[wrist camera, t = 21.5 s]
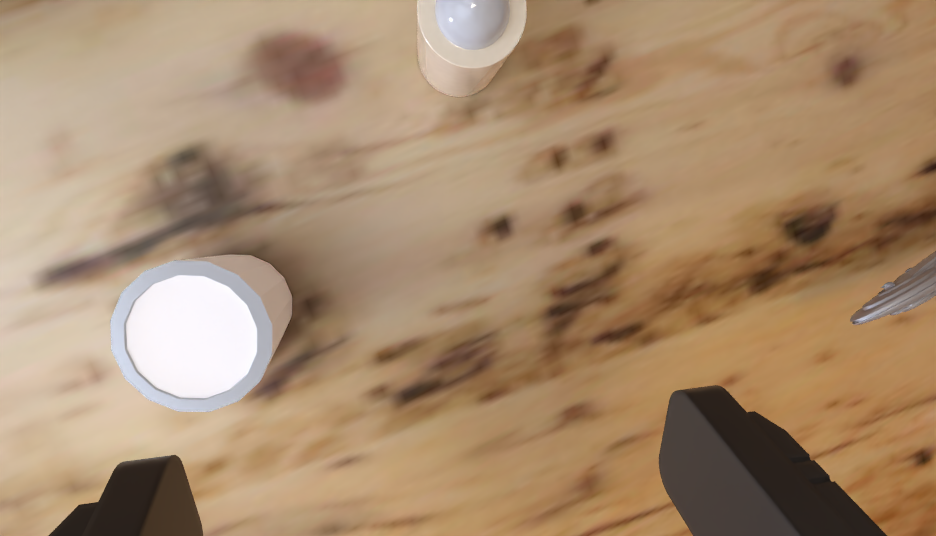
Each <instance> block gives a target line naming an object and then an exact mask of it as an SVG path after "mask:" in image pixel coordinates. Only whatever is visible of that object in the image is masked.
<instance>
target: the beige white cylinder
mask: <svg viewBox="0 0 936 536" xmlns="http://www.w3.org/2000/svg"><path fill="white" fill-rule="evenodd" d="M291 317H292V295H291V292H290V290H289V288H288V285H287V283H286V280H285V278H284V277H283V276H282V275H281V274H280V273H279V272H278V271H277V270H276V269H275V268H274V267H273V266H272V265H271V264H270V263H268V262H265V261H263V260H261V259H259V258H256V257H254V256H252V255H233V254H229V255H220V256H210V257H201V258H192V259H182V260H174V261H171V262H169V263H166V264H163V265H160V266H157V267H155V268H152V269H149V270H146V271H144V272H143V273H142V274H141V275H140V276H139V277H138V278H137V279H136V280H135V281H133V282H132V283H131V284H130V285H129V286H128V287H127V288H126V289H125V290H124V291H123V292H122V293H121V296H120V298H119V301H118V303H117V305H116V308H115V310H114V313H113V315H112V318H111V320H110V324H111V350H112V353H113V355H114V357H115V359H116V361H117V363H118V365H119V367H120V369H121V371H122V373H123V375H124V377H125V379H126V380H127V381H128V382H129V383H131V384H132V385H133V386H134V387H135V388H136V389H137V390H138V391H139V392H140V393H142V394H143V395H144V396H145V397H146V398H147V399H148V400H150V401H153V402H155V403H158V404H161V405H163V406H166V407H168V408H171V409H173V410H176V411H186V412H211V411H213V410H216V409H219V408H221V407H224V406H227V405H230V404H232V403H235V402H238V401H239V400H240V399H241V398H242V397H244V396H245V395H246V394H247V393H248V392H249V391H250V390H251V389H252V388H253V387H255V386H256V385H257V384H258V383H259V382H260V381H261V379H262V377H263V375H264V373H265V371H266V369H267V367H268V365H269V363H270V361H271V359H272V357H273V355H274V353H275V351H276V349H277V347H278V345H279V343H280V341H281V339H282V337H283V335H284V332H285V330H286V328H287V326H288V324H289V321H290V319H291Z"/></svg>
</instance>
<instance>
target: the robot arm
mask: <svg viewBox="0 0 936 536" xmlns="http://www.w3.org/2000/svg"><path fill="white" fill-rule="evenodd" d="M809 456H810V455H809V454H808V453H807V452H806V451H805V450H804V449H803V448H802V447H801V446H800V445H799V444H798V443H797V442H796V441H795V440H794V439H793V438H792V437H791V436H790V435H789V434H788V433H787V432H786V431H785V430H784V429H782V428H781V427H779V426H777V425H776V424H774V423H772V422H771V421H769V420H768V419H766V418H764V417H763V416H761V415H760V414H758V413H756V412H755V411H754V412H746V411H745V410H744V409H743V408H742V407H741V406H740V405H739V403H738V402H737V401H736V400H735V399H734V398H733V397H732V396H731V395H730V394H729V393H728V392H727V391H726V390H725V389H724V388H723V387H721V386H717V385H715V386H707V387H699V388H692V389H684V390H677V391H675V392H673V394H672V395H671V397H670V400H669V405H668V411H667V416H666V421H665V427H664V432H663V438H662V443H661V448H660V454H659V469H660V474H661V478H662V482H663V485H664V487H665V489H666V492H667V493H668V495H669V497H670V499H671V500H672V502H673V503H674V505H675V507H676V508H677V510H678V512H679V513H680V515H681V516H682V518H683V520H684V521H685V523H686V525H687V526H688V528H689V529H690V531H691V533H692V534H693V536H887V535H886V534H885V533H884V532H883V531H882V530H881V529H880V528H879V527H878V526H877V525H876V524H875V523H874V522H873V521H872V520H871V519H870V518H869V516H868V515H867V514H866V513H865V512H864V511H863V510H862V509H861V508H860V507H859V506H858V505H857V504H856V503H855V502H854V501H853V500H852V499H851V498H850V497H849V496H848V495H847V494H846V493H845V492H844V491H843V490H842V488H841V487H840V486H839V485H838V484H837V483H836V482H835V481H834V482H831V481H830V478H829V475H828V474H827V473H826V472H825V471H824V470H823V469H822V468H821V467H820V466H819V465H818V464H817V463H816V462H815V461H814V460H813V461H811V460H810V457H809ZM49 536H203V530H202V524H201V521H200V517H199V514H198V511H197V508H196V505H195V502H194V498H193V495H192V492H191V489H190V486H189V483H188V479H187V476H186V473H185V470H184V467H183V464H182V461H181V460H180V458H179V457H178V456H176V455H171V456H164V457H156V458H149V459H141V460H133V461H126V462H122V463H120V464H119V465H117V467H116V468H115V469H114V471H113V473H112V475H111V477H110V479H109V481H108V483H107V485H106V487H105V489H104V492H103V494H102V496H101V498H100V500H99V502H96V503H89V504H82V505H78V506H77V507H76V508H75V510H74V511H73V512H72V513H71V514H70V515H69V516H68V517H67V518H66V519H65V520H64V521H63V522H62V523H61V524H60V525H59V526H58V527H57V528H56V529H55V530H54V531H53V532H52V533H51V534H50V535H49Z"/></svg>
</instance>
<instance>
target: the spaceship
mask: <svg viewBox="0 0 936 536" xmlns="http://www.w3.org/2000/svg"><path fill="white" fill-rule="evenodd" d="M881 288H884V290H882V291H881V292H879V293H878V295H877V296H875V297H874V298H872V299H871V300H870V301H868V302H867V303H866V304H865V305H863V306H862V308H861V309H860V310H858V311H857V312H856V313H855V314H853V315H852V316H851V319H850V321H851V322H852V321H853V322H852V324H853V325H860V324H863V323H866V322H870V321H873V320H876V319H879V318H881V317H884V316H886V315H889V314H890V315H896V314H899V313H901V312H906V311H909V310H911V309H913V308H915V307H917V306H919V305H921V304H923V303H924V302H926V301H928V300H929V299H931V298H933V297H934V296H936V251H935V252H934V253H932V254H931V255H929V256H928V257H927V258H925V259H924V260H922V261H921V262H920V263H918V264H917V265H916V266H914V267H913V268H909V269H907V270H906V273H904V274H902V275H901V276H899V277H898V278H897V279H896V280H895V281H894V282H888V283H886V284H884V286H882V287H881Z"/></svg>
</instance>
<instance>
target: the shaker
mask: <svg viewBox="0 0 936 536" xmlns="http://www.w3.org/2000/svg"><path fill="white" fill-rule="evenodd" d="M526 18H527V5H526V0H418V2H417V53H418V63H419V66H420V69H421V72H422V74H423V75H424V77H425V79H426V80H427V81H428V83H429V84H430V85H431V86H432V87H434V88H435V89H436V90H438V91H440V92H441V93H444V94H446V95H450V96H455V97H464V96H469V95H473V94H475V93H477V92H479V91H481V90H482V89H483V88H485V87H486V86H487V85H488V84H489V83H490V81H491V80H492V79H493V77H494V76H495V74H496V73H497V72H498V70H499V69H500V68H501V66H502V65H503V63H504V62H505V61H506V59H507V58H508V56H509V55H510V54H511V52H512V51H513V49H514V48H515V47H516V45H517V44H518V42H519V40H520V39H521V37H522V34H523V32H524V28H525V24H526Z"/></svg>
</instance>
